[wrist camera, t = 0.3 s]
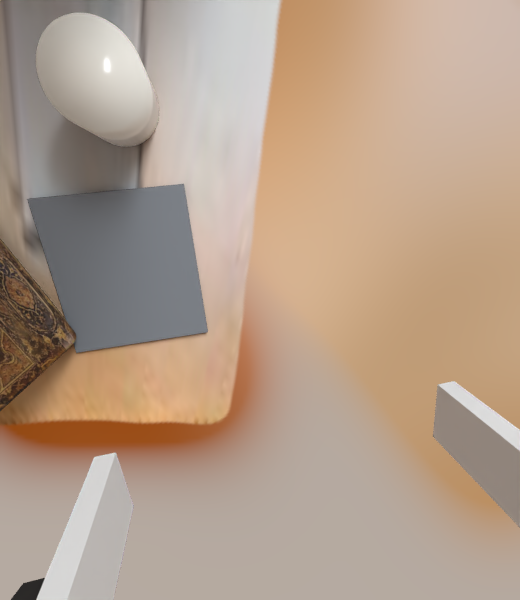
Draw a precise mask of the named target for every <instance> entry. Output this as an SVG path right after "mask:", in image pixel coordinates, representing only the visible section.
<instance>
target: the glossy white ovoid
mask: <svg viewBox="0 0 520 600" xmlns="http://www.w3.org/2000/svg"><path fill="white" fill-rule="evenodd" d="M36 70H37V75H38V79H39V82H40V84H41V87H42V89H43V91H44V93H45V95H46V96H47V98H48V100H49V101H50V102H51V104H52V105H53V106H54V107H55V109H56V110H57V111H58V112H59V113H60V114H62V115H63V116H64V117H65V118H66V119H68V120H69V121H71V122H72V123H74V124H76V125H78V126H80V127H81V128H83V129H85V130H87V131H89V132H90V133H92V134H94V135H96V136H98V137H99V138H101V139H103V140H105V141H107V142H109V143H111V144H113V145H117V146H122V147H131V146H136V145H139V144H141V143H143V142H144V141H146V140H147V139H148V138H149V137H150V136H151V135H152V134H153V132H154V131H155V129H156V126H157V124H158V120H159V102H158V98H157V95H156V92H155V90H154V88H153V86H152V84H151V81H150V79H149V77H148V75H147V73H146V70H145V68H144V66H143V64H142V62H141V59H140V57H139V55H138V53H137V51H136V49H135V47H134V46H133V44H132V43H131V41H130V40H129V39H128V38H127V36H126V35H125V34H124V33H123V32H122V31H121V30H120V29H119V28H117V27H116V26H115V25H114V24H112V23H111V22H109V21H108V20H106V19H104V18H102V17H99V16H96V15H93V14H89V13H79V12H77V13H70V14H66V15H63V16H61V17H59V18H57V19H55V20H54V21H52V22H51V23H50V24H49V25H48V26H47V27H46V29H45V30H44V31H43V33H42V35H41V37H40V39H39V42H38V45H37V50H36Z"/></svg>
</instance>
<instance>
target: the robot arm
mask: <svg viewBox="0 0 520 600" xmlns="http://www.w3.org/2000/svg"><path fill="white" fill-rule="evenodd" d="M433 437H434V438H435V439H436V440H437V441H438V442H439V443H440V444H441V445H442V446H443V447H444V449H445V450H446V451H447V452H448V453H449V454H450V455H451V456H452V457H453V458H454V459H455V460H456V461H457V462H458V463H459V464H460V465H461V466H462V467H463V468H464V469H465V470H466V472H467V473H468V474H469V475H470V476H471V477H472V478H473V479H474V480H475V481H476V482H477V483H478V484H479V485H480V486H481V487H482V488H483V489H484V490H485V491H486V493H487V494H488V495H489V496H490V497H491V498H492V499H493V500H494V501H495V502H496V503H497V504H498V505H499V506H500V507H501V508H502V509H503V510H504V512H505V513H506V514H507V515H508V516H509V517H510V518H511V519H512V520H513V521H514V522H515V523H516V524H517V525H518V526H519V527H520V430H519V429H518V428H516V427H515V426H514V425H512V424H511V423H510V422H508V421H507V420H505V419H504V418H503V417H501V416H500V415H499V414H498V413H496V412H495V411H493V410H492V409H491V408H489V407H488V406H487V405H485V404H484V403H483V402H481V401H480V400H479V399H477V398H476V397H475V396H473V395H472V394H471V393H469V392H468V391H466V390H465V389H464V388H462V387H461V386H460V385H458V384H457V383H456V382H454V381H453V382H448V383H443V384H439V385H438V388H437V399H436V410H435V421H434V431H433ZM133 507H134V505H133V503H132V499H131V496H130V493H129V490H128V487H127V484H126V481H125V478H124V475H123V472H122V469H121V466H120V463H119V460H118V457H117V454H116V453H111V454H107V455H102V456H97V457H94V459H93V462H92V464H91V467H90V469H89V471H88V474H87V476H86V479H85V482H84V484H83V486H82V489H81V491H80V494H79V496H78V498H77V501H76V504H75V506H74V508H73V511H72V513H71V516H70V518H69V521H68V523H67V526H66V528H65V531H64V533H63V536H62V538H61V540H60V543H59V545H58V548H57V550H56V553H55V555H54V557H53V560H52V562H51V565H50V567H49V570H48V572H47V575H46V577H45V578H43V579H38V580H35V581H31V582H27V583H23V585H22V586H21V587H20V589H19V590H18V591H17V592H16V594H15V595H14V596H13V598H12V599H11V600H113V599H114V595H115V590H116V586H117V581H118V577H119V572H120V567H121V563H122V558H123V553H124V549H125V544H126V540H127V535H128V530H129V525H130V521H131V517H132V512H133Z"/></svg>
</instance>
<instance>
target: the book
mask: <svg viewBox="0 0 520 600" xmlns="http://www.w3.org/2000/svg"><path fill="white" fill-rule="evenodd" d="M75 340H76V333H75V332H74V330H73V329H72V328H71V326H70V325H69V324H68V322H67V321H66V320H65V318H64V317H63V316H62V314H61V313H60V312H59V310H58V309H57V308H56V307H55V306H54V304H53V303H52V302H51V301H50V299H49V298H48V297H47V296H46V294H45V293H44V292H43V291H42V290H41V288H40V287H39V286H38V285H37V283H36V282H35V281H34V280H33V279H32V277H31V276H30V275H29V274H28V272H27V271H26V270H25V269H24V267H23V266H22V265H21V264H20V263H19V261H18V260H17V259H16V258H15V256H14V255H13V254H12V253H11V252H10V250H9V249H8V248H7V247H6V245H5V244H4V243H3V242H2V240H1V239H0V411H1V410H2V409H3V408H4V407H5V406H6V405H8V404H9V403H10V402H11V401H12V400H13V399H14V398H15V397H16V396H17V395H18V394H20V393H21V392H22V391H23V390H24V389H25V388H26V387H27V386H28V385H29V384H31V383H32V382H33V381H34V380H35V379H36V378H37V377H38V376H39V375H40V374H41V373H43V372H44V371H45V370H46V369H47V368H48V367H49V366H50V365H51V364H52V363H54V362H55V361H56V360H57V359H58V358H59V357H60V356H61V355H62V354H63V353H64V352H66V351H67V350H68V349H69V348H70V347H71V345H72V344H73V343H74V342H75Z"/></svg>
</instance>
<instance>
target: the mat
mask: <svg viewBox="0 0 520 600" xmlns="http://www.w3.org/2000/svg"><path fill="white" fill-rule="evenodd" d="M27 200H28V203H29V206H30V209H31V212H32V216H33V219H34V222H35V225H36V228H37V231H38V234H39V237H40V240H41V244H42V247H43V250H44V253H45V256H46V259H47V262H48V265H49V269H50V272H51V275H52V278H53V281H54V284H55V287H56V290H57V294H58V297H59V300H60V303H61V306H62V309H63V312H64V315H65V319H66V321H67V322H68V324H69V325H70V326H71V328H72V329H73V330H74V332H75V333H76V340H75V342H74V343H73V344H74V347H75V350H76V353H78V352H85V351H91V350H97V349H104V348H110V347H116V346H123V345H129V344H135V343H142V342H148V341H154V340H161V339H167V338H174V337H180V336H186V335H193V334H199V333H205V332H208V329H207V323H206V317H205V311H204V305H203V299H202V293H201V286H200V280H199V274H198V268H197V262H196V256H195V250H194V244H193V237H192V231H191V225H190V219H189V213H188V207H187V201H186V195H185V188H184V184H179V185H168V186H158V187H147V188H137V189H126V190H116V191H105V192H95V193H85V194H74V195H64V196H53V197H43V198H32V199H27Z"/></svg>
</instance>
